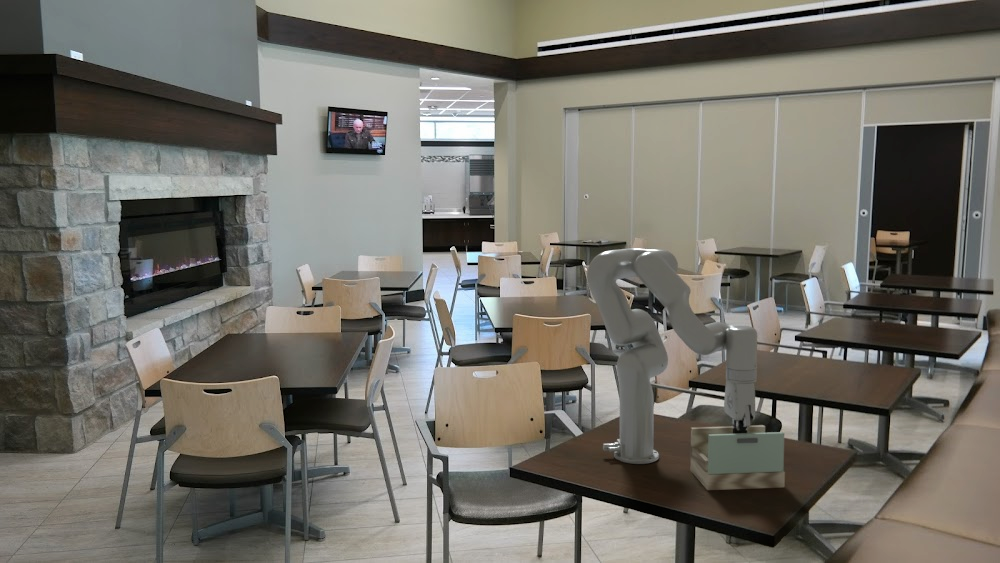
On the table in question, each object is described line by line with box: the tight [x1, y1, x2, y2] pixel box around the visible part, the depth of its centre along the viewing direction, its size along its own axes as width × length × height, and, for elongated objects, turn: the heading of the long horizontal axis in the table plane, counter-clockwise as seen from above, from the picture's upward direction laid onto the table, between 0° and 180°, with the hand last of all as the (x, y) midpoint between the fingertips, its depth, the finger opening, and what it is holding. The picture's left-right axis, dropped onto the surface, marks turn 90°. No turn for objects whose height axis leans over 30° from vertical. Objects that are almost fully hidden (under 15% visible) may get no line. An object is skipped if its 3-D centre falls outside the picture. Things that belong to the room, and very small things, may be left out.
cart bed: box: [689, 424, 786, 491], centre depth 200 cm, size 20×14×12 cm
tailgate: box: [708, 431, 785, 474], centre depth 193 cm, size 19×2×10 cm, turn 93°
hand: (739, 443), depth 197 cm, fingers closed
